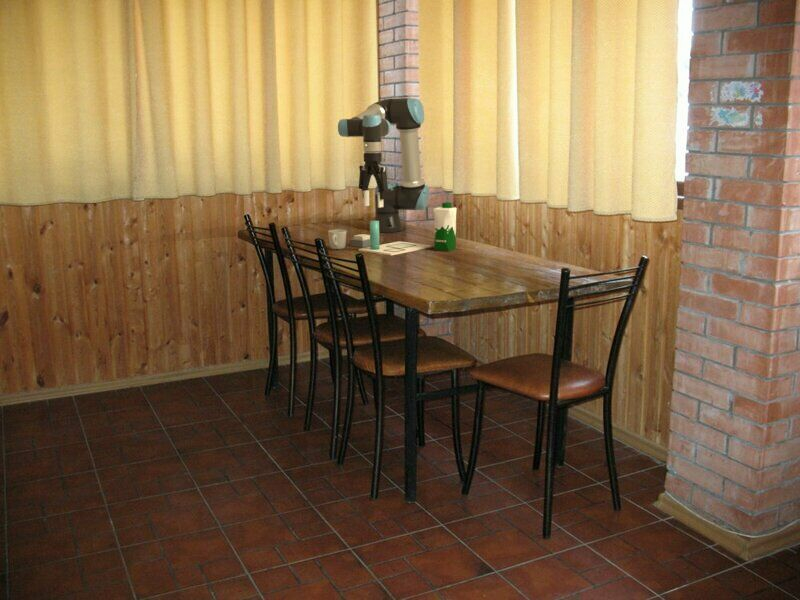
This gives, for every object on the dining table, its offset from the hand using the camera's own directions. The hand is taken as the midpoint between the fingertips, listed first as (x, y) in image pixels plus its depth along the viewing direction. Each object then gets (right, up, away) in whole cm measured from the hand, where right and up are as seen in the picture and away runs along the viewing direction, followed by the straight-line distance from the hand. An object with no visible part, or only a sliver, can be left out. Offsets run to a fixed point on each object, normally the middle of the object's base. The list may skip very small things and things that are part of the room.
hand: (373, 206), depth 371 cm
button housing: (-5, -15, +19) cm, 25 cm away
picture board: (+9, -18, +8) cm, 22 cm away
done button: (-5, -14, +18) cm, 24 cm away
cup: (-16, -18, +10) cm, 26 cm away
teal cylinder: (0, -18, +4) cm, 18 cm away
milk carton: (+31, -18, +5) cm, 36 cm away
